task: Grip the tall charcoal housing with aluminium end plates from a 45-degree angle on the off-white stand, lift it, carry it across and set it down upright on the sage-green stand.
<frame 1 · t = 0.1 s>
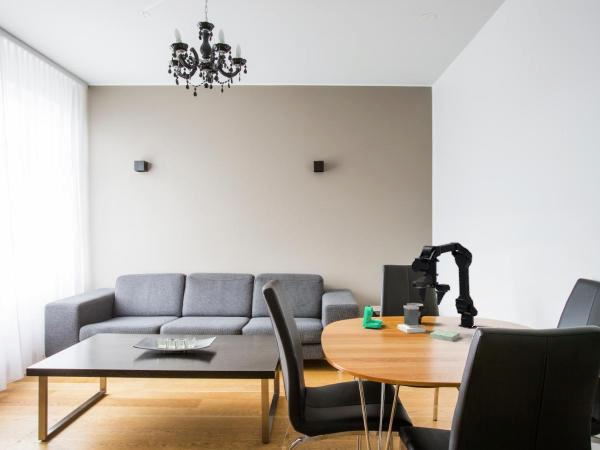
hand: (430, 303, 190), 15 cm above the table, tool pointing down, fingers open, 9 cm apart
housing: (411, 326, 197), point 2 cm above the table, touching stand a
stand a: (411, 330, 197), on the table
camera mount: (373, 327, 205), on the table
stand b: (445, 337, 183), on the table
coffee mug: (417, 323, 213), on the table
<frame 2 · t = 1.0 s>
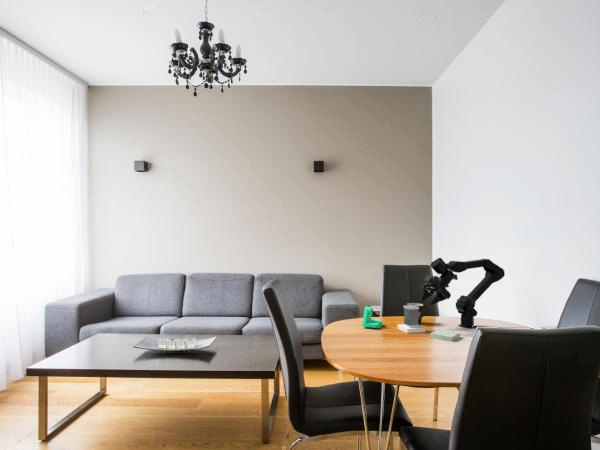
hand: (425, 303, 199), 13 cm above the table, tool tilted 45°, fingers open, 9 cm apart
nothing on the table moved.
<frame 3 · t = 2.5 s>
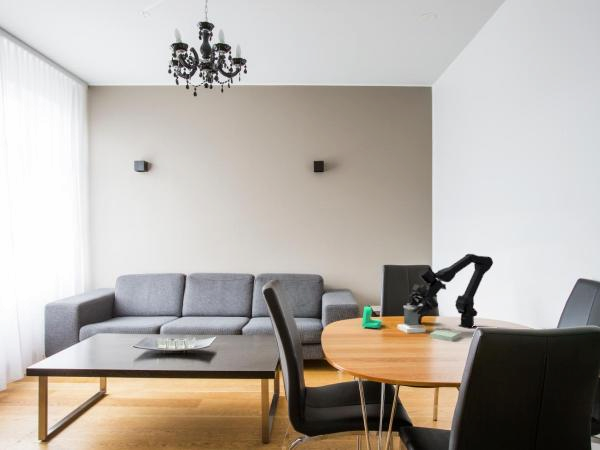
hand: (412, 312, 198), 9 cm above the table, tool tilted 45°, fingers open, 9 cm apart
nothing on the table moved.
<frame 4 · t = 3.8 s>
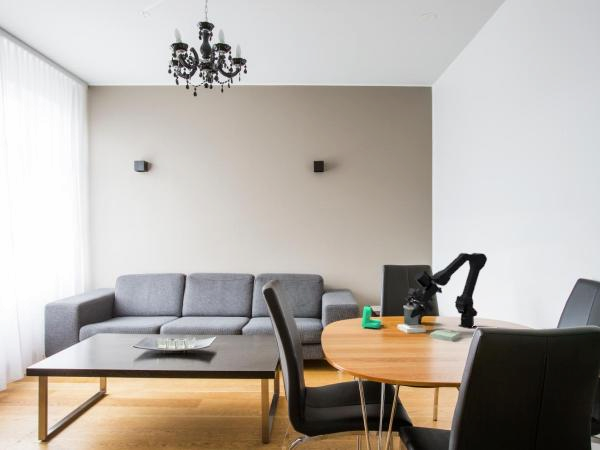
hand: (408, 316, 197), 7 cm above the table, tool tilted 45°, fingers closed on housing, 5 cm apart
housing: (411, 326, 197), point 2 cm above the table, touching gripper, stand a
everything else where it was.
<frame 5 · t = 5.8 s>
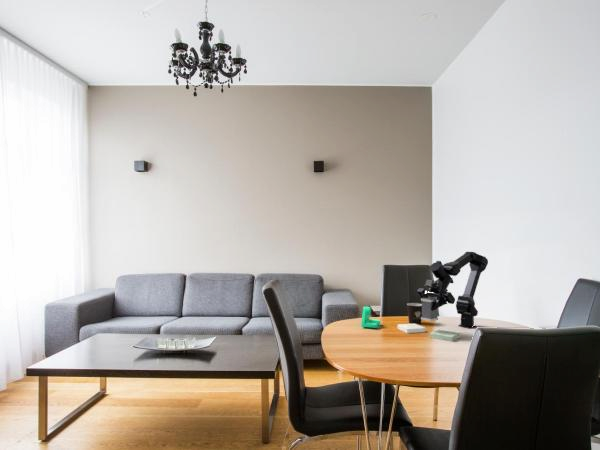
hand: (427, 309, 188), 12 cm above the table, tool tilted 45°, fingers closed on housing, 5 cm apart
housing: (429, 319, 188), point 7 cm above the table, touching gripper
when the fingers open (8 cm above the table, at t = 7.8 s): housing stays where it is, resting on stand b.
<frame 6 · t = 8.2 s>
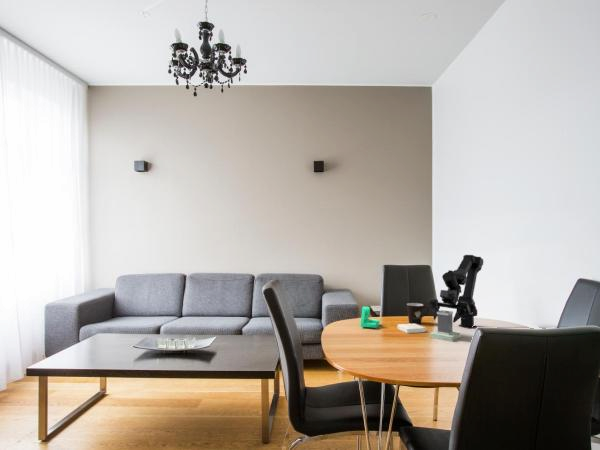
hand: (443, 320, 183), 8 cm above the table, tool tilted 45°, fingers open, 9 cm apart
housing: (445, 333, 183), point 2 cm above the table, touching stand b
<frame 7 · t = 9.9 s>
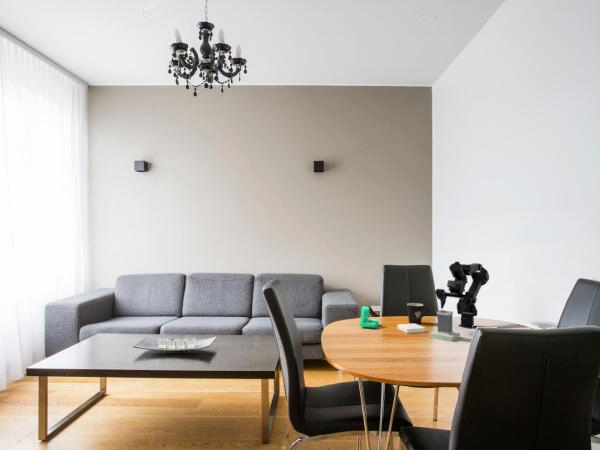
hand: (450, 309, 189), 12 cm above the table, tool tilted 45°, fingers open, 9 cm apart
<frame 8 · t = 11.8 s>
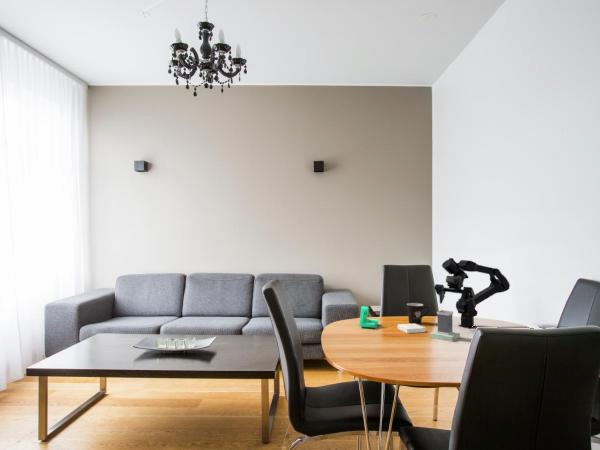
hand: (449, 304, 194), 14 cm above the table, tool tilted 45°, fingers open, 9 cm apart
at the end: housing 0.0 cm off-centre on the stand b, point 2.0 cm above the stand b's base; housing tilted 0°; the gripper is holding nothing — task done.
